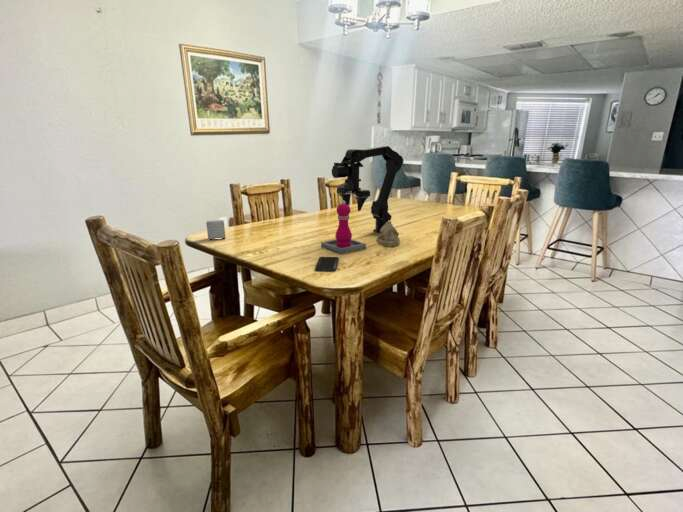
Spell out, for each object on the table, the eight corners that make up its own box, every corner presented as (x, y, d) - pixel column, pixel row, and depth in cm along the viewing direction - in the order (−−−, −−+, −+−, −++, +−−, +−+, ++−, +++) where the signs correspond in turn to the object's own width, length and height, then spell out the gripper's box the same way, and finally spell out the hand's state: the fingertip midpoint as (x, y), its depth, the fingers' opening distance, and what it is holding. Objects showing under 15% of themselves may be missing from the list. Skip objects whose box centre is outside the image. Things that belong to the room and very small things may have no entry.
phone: (338, 257, 144) (335, 269, 130) (338, 259, 144) (335, 272, 130) (319, 256, 144) (314, 269, 130) (319, 259, 145) (314, 272, 130)
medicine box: (225, 237, 177) (223, 219, 174) (225, 239, 173) (223, 221, 170) (208, 238, 175) (206, 220, 172) (208, 240, 171) (206, 222, 168)
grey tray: (321, 247, 160) (321, 242, 159) (345, 241, 168) (345, 237, 168) (340, 254, 149) (340, 249, 149) (365, 248, 158) (366, 243, 157)
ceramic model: (374, 239, 174) (374, 218, 171) (397, 238, 175) (398, 218, 172) (380, 247, 161) (381, 225, 158) (405, 246, 162) (406, 224, 159)
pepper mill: (353, 247, 156) (353, 201, 150) (337, 248, 155) (336, 202, 149) (349, 243, 163) (350, 198, 157) (334, 244, 162) (333, 199, 155)
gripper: (327, 176, 173) (328, 208, 178) (352, 179, 159) (352, 214, 164) (345, 175, 179) (345, 206, 184) (371, 178, 165) (370, 211, 170)
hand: (352, 209), depth 175 cm, fingers open, 9 cm apart
